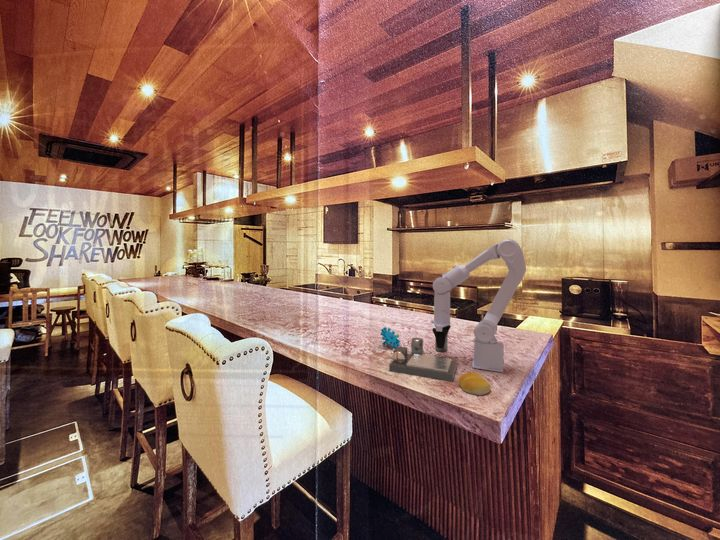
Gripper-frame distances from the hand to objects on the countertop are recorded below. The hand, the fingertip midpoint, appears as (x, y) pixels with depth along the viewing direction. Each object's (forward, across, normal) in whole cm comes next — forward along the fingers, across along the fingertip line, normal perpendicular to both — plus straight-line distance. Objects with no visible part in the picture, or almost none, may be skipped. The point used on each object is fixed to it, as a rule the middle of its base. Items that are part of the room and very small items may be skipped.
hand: (441, 346), depth 107 cm
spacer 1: (+4, 0, -9) cm, 10 cm away
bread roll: (+5, +21, +12) cm, 25 cm away
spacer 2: (+2, 0, 0) cm, 2 cm away
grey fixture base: (+4, +13, -4) cm, 14 cm away
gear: (+5, -6, -22) cm, 23 cm away
